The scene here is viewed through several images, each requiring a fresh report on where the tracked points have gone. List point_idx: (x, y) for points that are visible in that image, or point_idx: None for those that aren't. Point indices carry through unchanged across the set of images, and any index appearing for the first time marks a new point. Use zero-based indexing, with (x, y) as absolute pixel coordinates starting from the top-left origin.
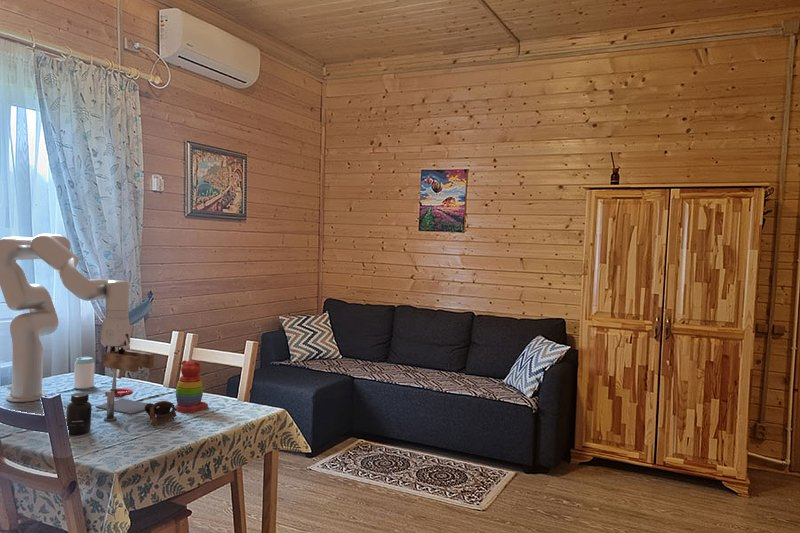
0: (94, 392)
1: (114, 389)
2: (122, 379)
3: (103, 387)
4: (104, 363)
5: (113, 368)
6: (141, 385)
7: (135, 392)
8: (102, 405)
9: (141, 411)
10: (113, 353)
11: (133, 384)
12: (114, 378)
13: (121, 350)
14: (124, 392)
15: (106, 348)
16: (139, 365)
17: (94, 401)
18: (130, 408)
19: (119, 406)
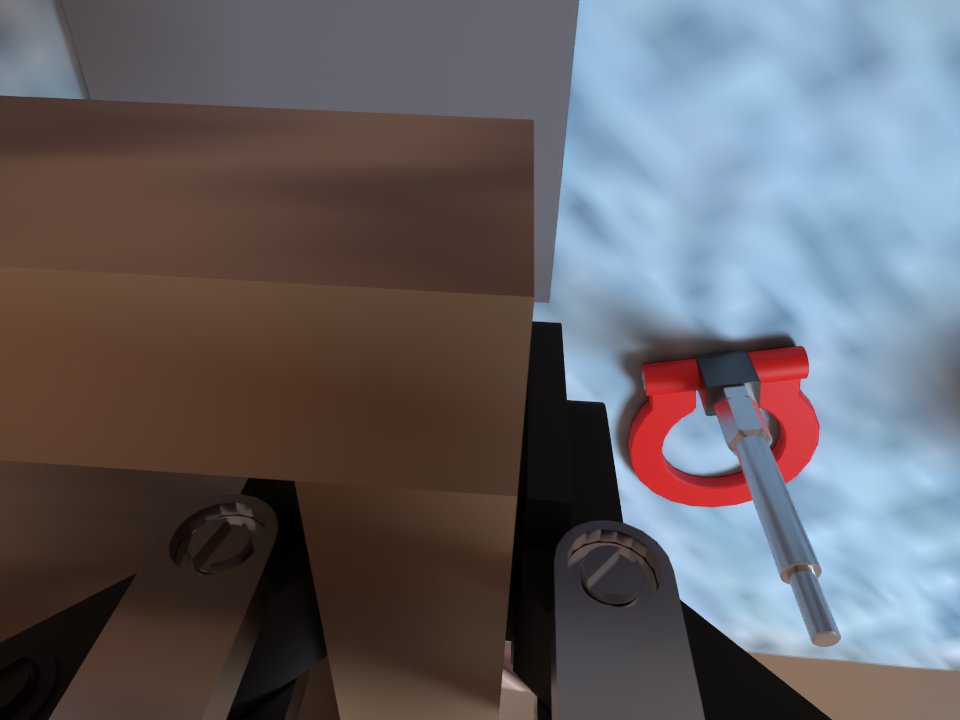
0: (945, 367)
1: (718, 391)
2: (926, 655)
3: (952, 492)
4: (482, 146)
5: (170, 103)
6: (704, 603)
7: (618, 482)
8: (539, 25)
9: (93, 84)
10: (156, 429)
11: (773, 603)
12: (756, 467)
13: (13, 656)
14: (652, 422)
15: (800, 712)
16: (5, 472)
17: (758, 146)
18: (219, 83)
19: (364, 87)
